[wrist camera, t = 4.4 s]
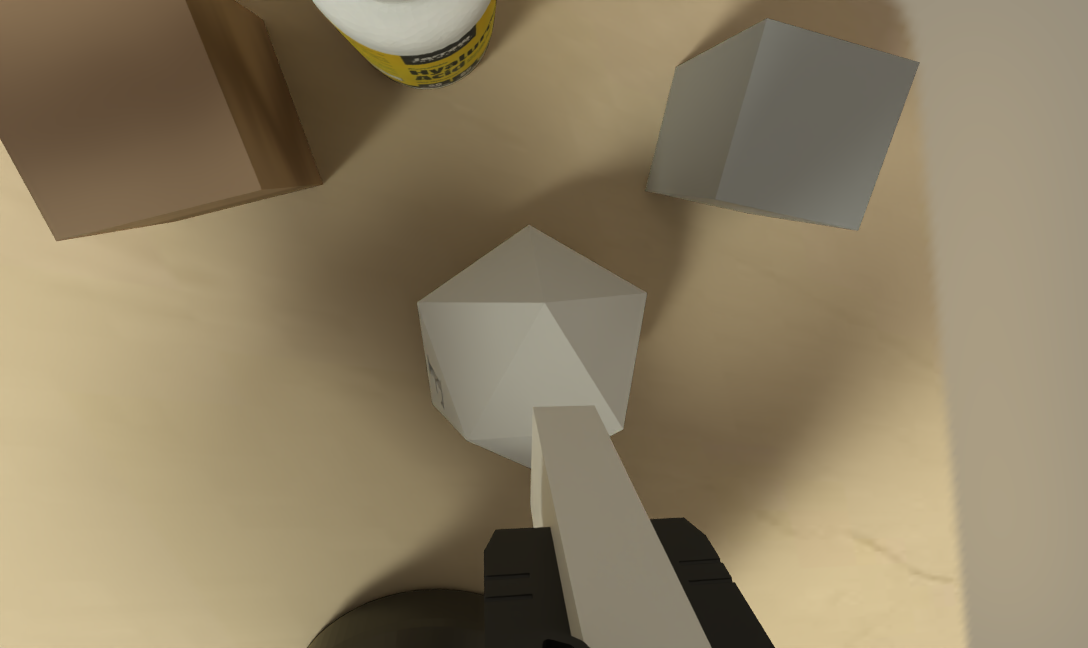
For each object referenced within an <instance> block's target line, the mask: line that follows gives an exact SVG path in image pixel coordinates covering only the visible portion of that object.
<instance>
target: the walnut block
mask: <svg viewBox="0 0 1088 648" xmlns="http://www.w3.org/2000/svg"><path fill="white" fill-rule="evenodd" d="M0 139H1V141H2V143H3V144H4V146H5V148H6V150H7V152H8V154H9V155H10V157H11V159H12V161H13V163H14V165H15V166H16V168H17V170H18V172H19V174H20V176H21V177H22V179H23V181H24V183H25V185H26V186H27V188H28V190H29V192H30V194H31V196H32V197H33V199H34V201H35V203H36V205H37V207H38V208H39V210H40V212H41V214H42V216H43V218H44V219H45V221H46V223H47V225H48V227H49V229H50V230H51V232H52V234H53V236H54V238H55V240H56V241H61V240H67V239H73V238H79V237H85V236H91V235H97V234H103V233H109V232H115V231H121V230H127V229H133V228H139V227H145V226H151V225H157V224H163V223H169V222H175V221H179V220H183V219H187V218H191V217H195V216H199V215H203V214H207V213H211V212H215V211H219V210H223V209H227V208H231V207H235V206H239V205H243V204H247V203H251V202H255V201H259V200H263V199H267V198H271V197H275V196H279V195H283V194H287V193H291V192H294V191H298V190H302V189H306V188H310V187H314V186H318V185H322V184H323V183H322V180H321V177H320V175H319V172H318V169H317V167H316V164H315V161H314V158H313V156H312V153H311V150H310V147H309V145H308V142H307V139H306V136H305V134H304V131H303V128H302V126H301V123H300V120H299V117H298V115H297V112H296V109H295V106H294V104H293V101H292V98H291V95H290V93H289V90H288V87H287V85H286V82H285V79H284V76H283V74H282V71H281V68H280V65H279V63H278V60H277V57H276V54H275V52H274V49H273V46H272V43H271V41H270V38H269V35H268V33H267V30H266V27H265V24H264V22H263V20H262V19H261V18H259V17H258V16H256V15H255V14H254V13H252V12H251V11H249V10H248V9H246V8H245V7H243V6H242V5H240V4H239V3H237V2H236V1H234V0H0Z"/></svg>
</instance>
